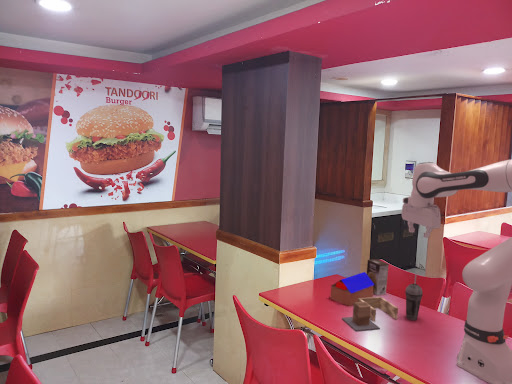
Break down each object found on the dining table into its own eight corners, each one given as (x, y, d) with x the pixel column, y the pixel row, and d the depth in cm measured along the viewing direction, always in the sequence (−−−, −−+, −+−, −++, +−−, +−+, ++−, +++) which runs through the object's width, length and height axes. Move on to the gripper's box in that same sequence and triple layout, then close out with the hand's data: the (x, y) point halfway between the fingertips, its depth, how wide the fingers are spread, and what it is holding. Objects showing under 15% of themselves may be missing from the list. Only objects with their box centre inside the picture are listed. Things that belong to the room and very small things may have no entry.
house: (373, 297, 207) (375, 275, 206) (350, 307, 194) (351, 283, 192) (353, 290, 216) (354, 268, 215) (329, 299, 202) (330, 276, 201)
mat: (379, 329, 171) (379, 327, 171) (356, 331, 168) (356, 330, 168) (364, 317, 183) (364, 315, 183) (341, 319, 180) (342, 317, 180)
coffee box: (364, 289, 218) (367, 259, 216) (374, 288, 220) (376, 258, 218) (376, 295, 209) (379, 264, 207) (386, 294, 212) (389, 263, 210)
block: (369, 324, 174) (370, 306, 173) (358, 325, 172) (359, 307, 171) (362, 319, 179) (364, 301, 178) (352, 320, 177) (353, 302, 176)
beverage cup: (401, 319, 182) (405, 275, 180) (404, 313, 189) (408, 270, 186) (419, 323, 179) (423, 278, 177) (421, 317, 185) (425, 273, 183)
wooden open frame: (397, 318, 182) (398, 308, 182) (373, 321, 179) (373, 310, 178) (379, 306, 195) (380, 296, 195) (357, 308, 192) (357, 298, 191)
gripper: (446, 205, 161) (442, 240, 163) (412, 198, 181) (410, 229, 182) (432, 205, 159) (429, 241, 161) (400, 198, 179) (397, 229, 181)
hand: (418, 234), depth 172 cm, fingers open, 8 cm apart
